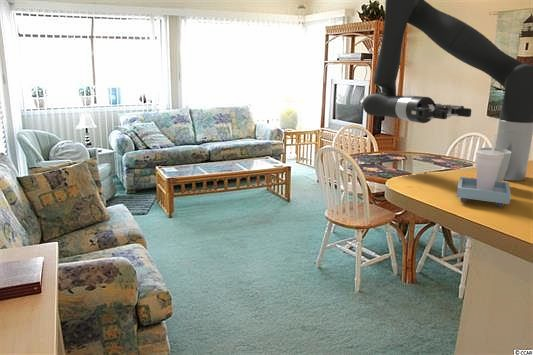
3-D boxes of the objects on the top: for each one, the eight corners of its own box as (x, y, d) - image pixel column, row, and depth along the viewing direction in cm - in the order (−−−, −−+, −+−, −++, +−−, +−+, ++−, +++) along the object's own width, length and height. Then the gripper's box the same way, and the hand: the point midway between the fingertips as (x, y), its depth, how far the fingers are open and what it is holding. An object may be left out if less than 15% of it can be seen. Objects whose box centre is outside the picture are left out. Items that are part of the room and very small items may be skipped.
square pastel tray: (458, 191, 120) (460, 176, 119) (506, 197, 116) (508, 182, 115) (455, 203, 110) (457, 187, 109) (508, 210, 105) (511, 194, 104)
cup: (502, 182, 130) (507, 148, 127) (508, 190, 122) (514, 154, 119) (472, 179, 132) (476, 146, 129) (476, 187, 124) (481, 152, 122)
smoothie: (501, 194, 109) (511, 137, 106) (473, 192, 111) (482, 136, 107) (494, 187, 115) (503, 133, 112) (468, 185, 117) (475, 132, 113)
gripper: (396, 97, 128) (439, 101, 113) (434, 94, 133) (479, 98, 119) (395, 123, 130) (437, 130, 115) (432, 119, 135) (476, 126, 121)
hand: (458, 114), depth 117 cm, fingers open, 8 cm apart
